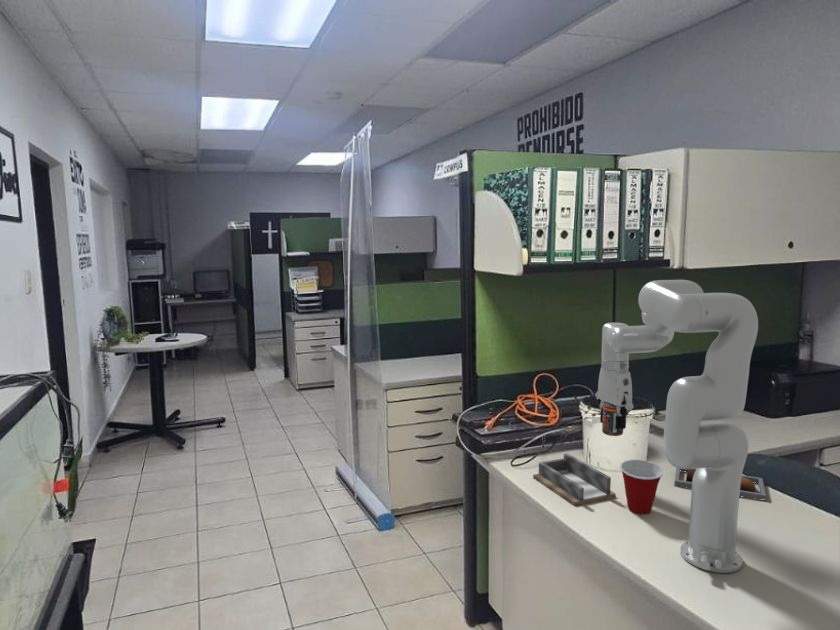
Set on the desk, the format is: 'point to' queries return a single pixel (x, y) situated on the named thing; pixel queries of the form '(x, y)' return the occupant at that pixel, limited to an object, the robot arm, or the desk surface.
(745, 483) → the sunglasses case
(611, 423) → the supplement bottle
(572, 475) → the board
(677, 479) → the desk tray frame
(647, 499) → the plastic cup
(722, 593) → the desk surface
